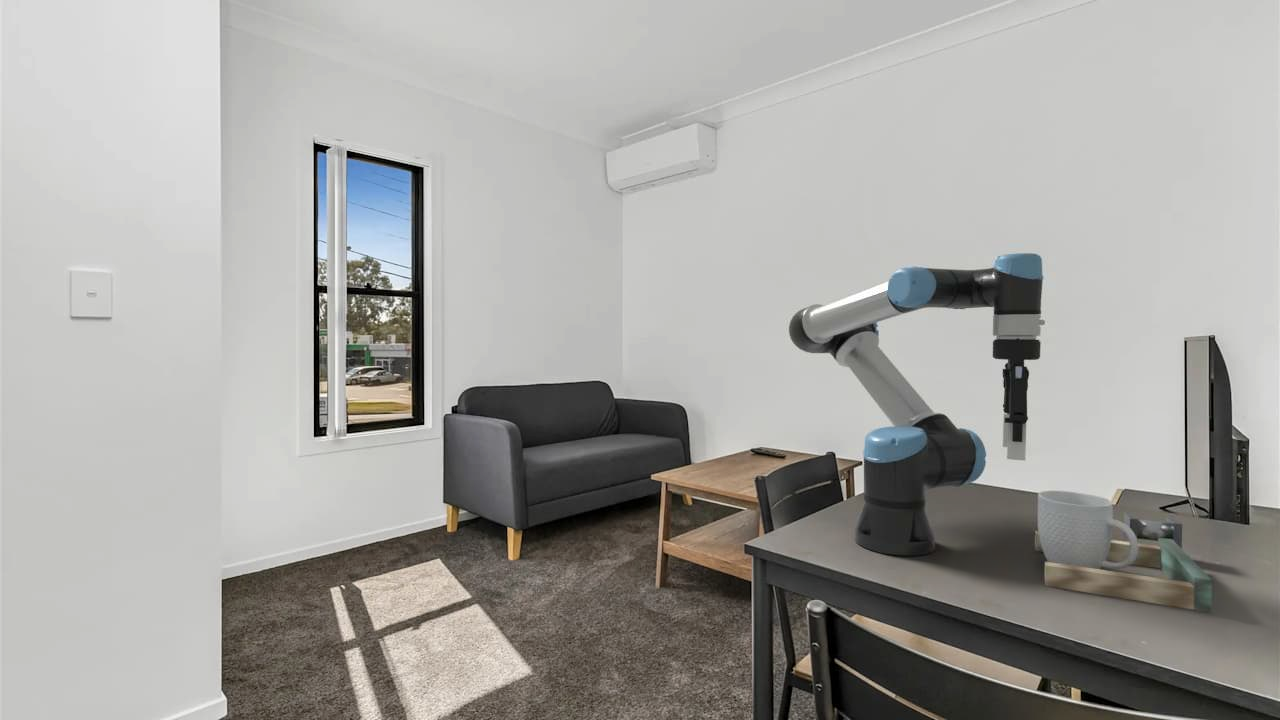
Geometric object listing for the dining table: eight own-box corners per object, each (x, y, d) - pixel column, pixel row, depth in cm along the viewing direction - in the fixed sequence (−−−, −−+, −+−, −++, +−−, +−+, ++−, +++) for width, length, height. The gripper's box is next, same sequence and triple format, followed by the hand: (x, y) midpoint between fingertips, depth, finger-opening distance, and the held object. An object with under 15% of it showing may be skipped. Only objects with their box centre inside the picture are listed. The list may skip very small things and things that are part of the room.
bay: (1045, 585, 102) (1046, 556, 102) (1034, 547, 121) (1035, 522, 120) (1210, 612, 92) (1211, 580, 92) (1171, 566, 111) (1172, 539, 110)
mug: (1148, 579, 105) (1150, 504, 104) (1123, 594, 99) (1125, 515, 98) (1052, 554, 117) (1053, 487, 117) (1025, 566, 111) (1026, 495, 111)
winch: (1128, 558, 115) (1129, 519, 114) (1121, 548, 120) (1122, 510, 120) (1183, 565, 111) (1184, 525, 111) (1174, 555, 116) (1175, 516, 116)
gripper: (1049, 338, 100) (1045, 468, 101) (1033, 337, 121) (1030, 443, 122) (996, 338, 103) (993, 463, 104) (990, 337, 125) (987, 440, 126)
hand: (1013, 453), depth 113 cm, fingers open, 12 cm apart
